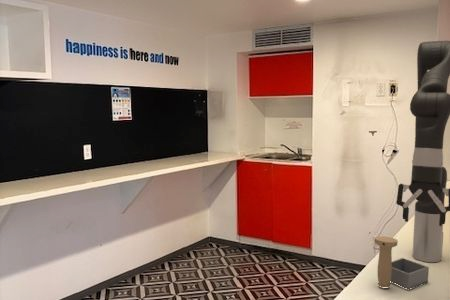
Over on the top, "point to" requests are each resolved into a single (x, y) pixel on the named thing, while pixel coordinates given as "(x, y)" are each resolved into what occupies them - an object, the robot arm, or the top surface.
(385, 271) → the handle
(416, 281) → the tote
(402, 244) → the top surface
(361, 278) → the top surface
